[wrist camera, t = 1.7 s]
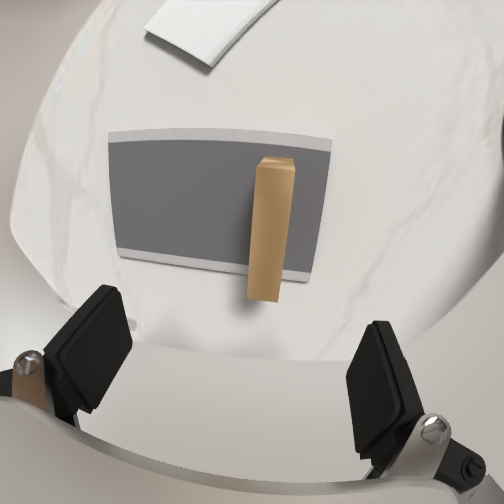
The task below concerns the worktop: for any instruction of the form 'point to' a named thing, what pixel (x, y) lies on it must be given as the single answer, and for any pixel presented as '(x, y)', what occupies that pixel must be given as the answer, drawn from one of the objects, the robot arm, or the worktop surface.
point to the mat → (210, 195)
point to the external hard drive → (205, 24)
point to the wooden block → (270, 227)
